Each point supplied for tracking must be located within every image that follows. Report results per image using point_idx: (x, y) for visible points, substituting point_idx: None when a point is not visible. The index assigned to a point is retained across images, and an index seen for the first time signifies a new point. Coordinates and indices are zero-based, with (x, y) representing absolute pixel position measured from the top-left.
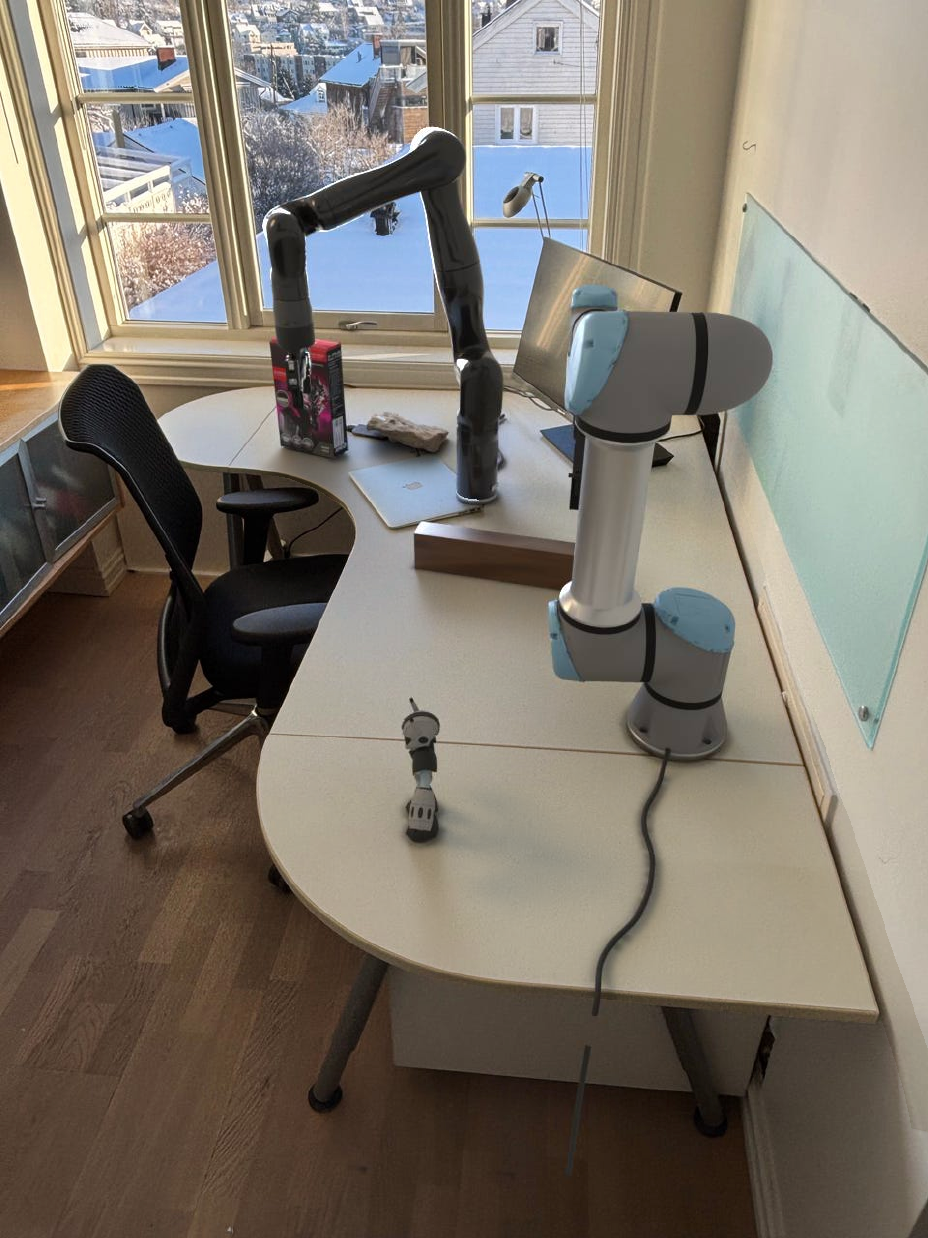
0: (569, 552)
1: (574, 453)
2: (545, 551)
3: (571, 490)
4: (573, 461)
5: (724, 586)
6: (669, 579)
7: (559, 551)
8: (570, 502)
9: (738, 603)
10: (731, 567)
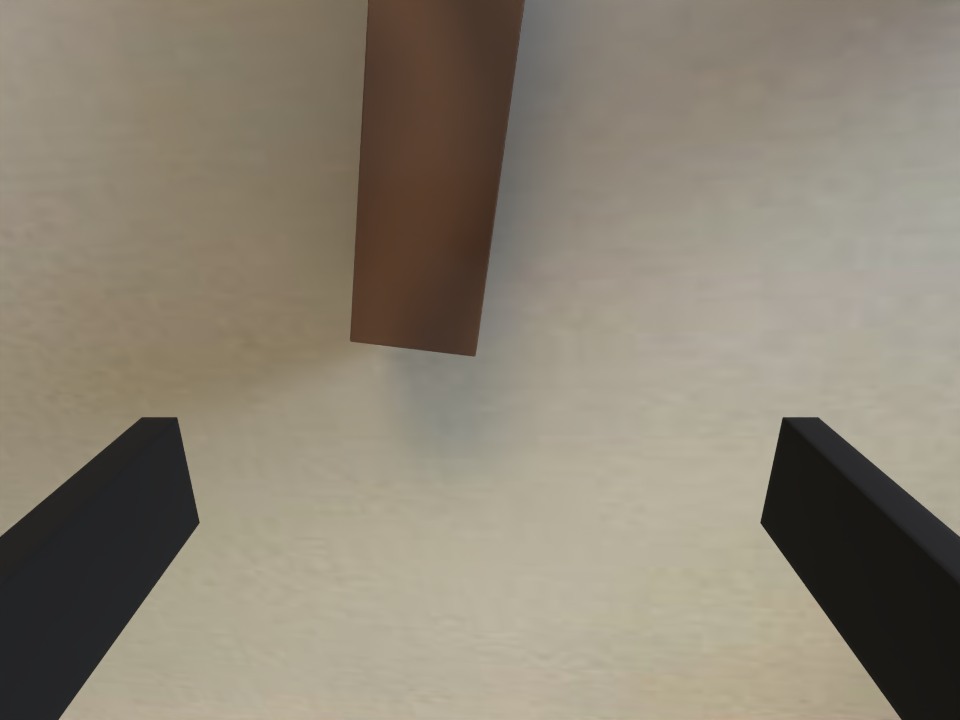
0: (374, 307)
1: (951, 583)
2: (359, 186)
3: (7, 537)
4: (875, 507)
5: (498, 690)
6: (516, 571)
7: (374, 259)
8: (105, 456)
9: (416, 711)
10: (603, 711)
